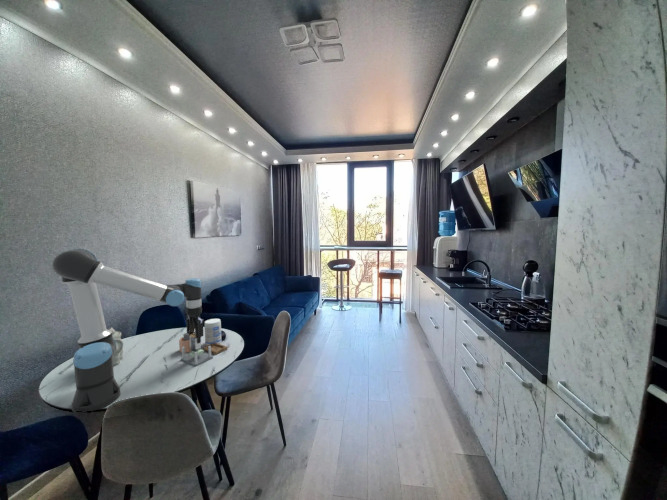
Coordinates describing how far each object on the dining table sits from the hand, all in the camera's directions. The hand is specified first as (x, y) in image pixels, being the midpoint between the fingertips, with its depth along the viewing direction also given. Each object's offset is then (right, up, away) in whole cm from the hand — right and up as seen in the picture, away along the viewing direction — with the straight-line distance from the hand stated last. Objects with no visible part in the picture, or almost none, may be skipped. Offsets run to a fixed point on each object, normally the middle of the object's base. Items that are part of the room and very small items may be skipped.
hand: (195, 347), depth 141 cm
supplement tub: (0, -6, +21) cm, 22 cm away
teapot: (-44, -8, -4) cm, 45 cm away
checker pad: (0, -4, +1) cm, 4 cm away
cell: (0, -1, 0) cm, 1 cm away
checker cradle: (0, -7, +1) cm, 7 cm away
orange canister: (-11, -6, +12) cm, 18 cm away
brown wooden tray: (+6, -6, +12) cm, 14 cm away
